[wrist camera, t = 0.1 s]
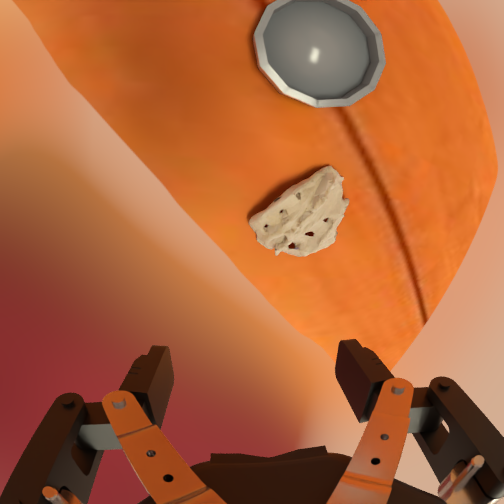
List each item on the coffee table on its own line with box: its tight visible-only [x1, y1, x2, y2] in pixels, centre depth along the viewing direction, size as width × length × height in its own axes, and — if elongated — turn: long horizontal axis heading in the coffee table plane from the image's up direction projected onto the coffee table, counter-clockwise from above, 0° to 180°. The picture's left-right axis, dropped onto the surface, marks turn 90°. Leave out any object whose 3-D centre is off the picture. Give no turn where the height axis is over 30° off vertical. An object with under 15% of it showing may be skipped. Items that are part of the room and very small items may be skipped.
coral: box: [249, 166, 349, 257], centre depth 41 cm, size 15×12×5 cm
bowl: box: [253, 0, 386, 108], centre depth 28 cm, size 17×17×4 cm
